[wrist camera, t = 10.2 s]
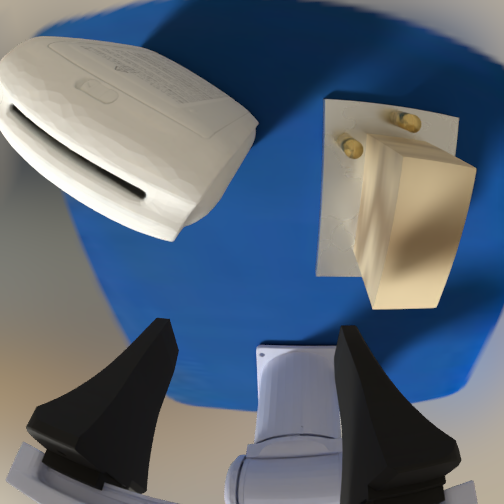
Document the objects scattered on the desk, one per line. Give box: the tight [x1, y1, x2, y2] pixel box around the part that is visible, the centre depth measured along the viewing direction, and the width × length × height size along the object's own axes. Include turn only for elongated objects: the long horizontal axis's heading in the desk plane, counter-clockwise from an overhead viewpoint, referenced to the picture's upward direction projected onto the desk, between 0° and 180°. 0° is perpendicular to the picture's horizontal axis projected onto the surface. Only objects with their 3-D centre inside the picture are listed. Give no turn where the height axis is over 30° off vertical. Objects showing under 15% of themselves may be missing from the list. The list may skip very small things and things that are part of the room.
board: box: [353, 134, 477, 309], centre depth 15 cm, size 8×4×6 cm, turn 2°
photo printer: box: [0, 36, 259, 241], centre depth 12 cm, size 10×4×12 cm, turn 54°
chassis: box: [315, 99, 459, 277], centre depth 17 cm, size 12×9×3 cm
